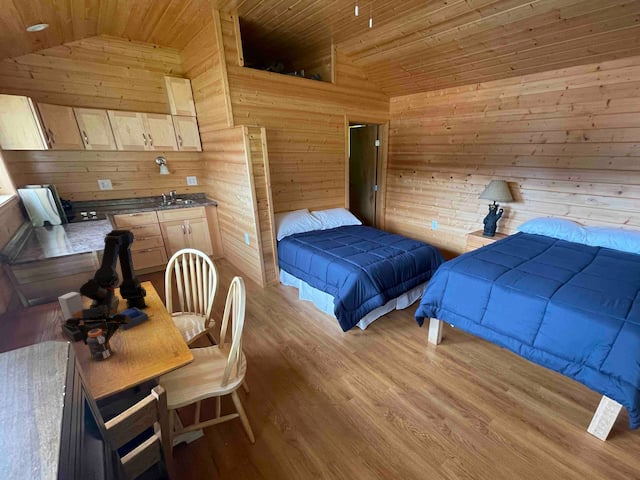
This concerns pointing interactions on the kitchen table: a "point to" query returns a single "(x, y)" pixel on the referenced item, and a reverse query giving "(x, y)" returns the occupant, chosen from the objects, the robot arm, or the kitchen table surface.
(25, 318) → the kitchen table surface
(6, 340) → the kitchen table surface
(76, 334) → the charcoal bin
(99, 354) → the pill bottle
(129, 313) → the blue block
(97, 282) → the robot arm
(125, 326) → the blue bin
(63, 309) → the cosmetic box
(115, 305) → the gray bowl
